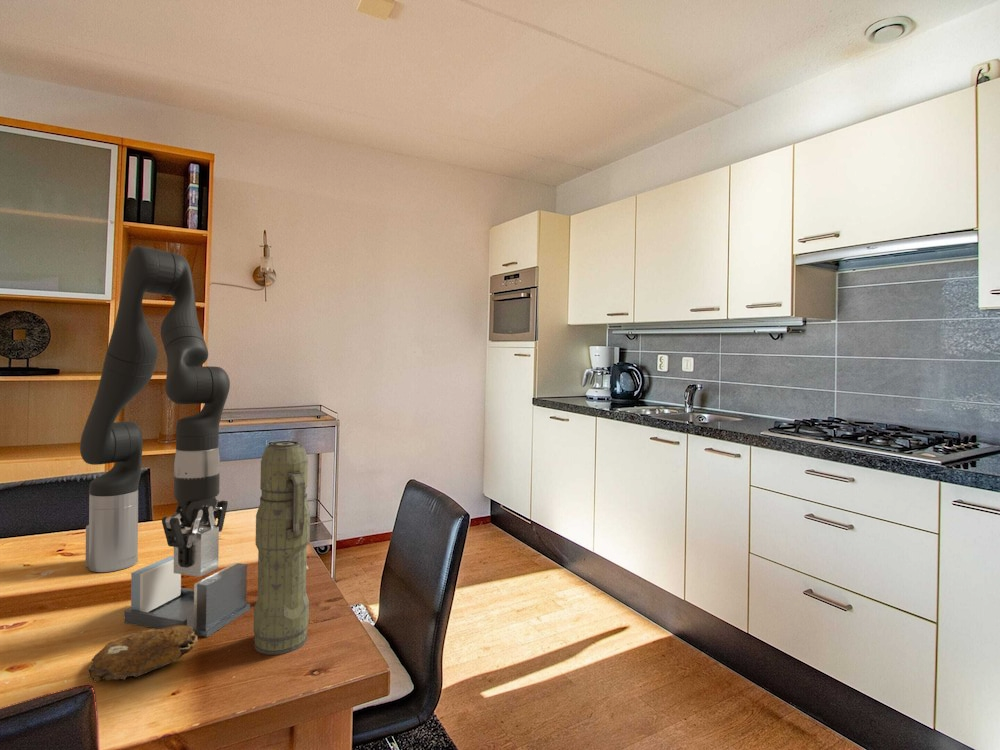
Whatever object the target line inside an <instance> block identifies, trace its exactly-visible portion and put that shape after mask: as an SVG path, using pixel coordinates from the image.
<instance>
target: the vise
mask: <svg viewBox="0 0 1000 750" xmlns="http://www.w3.org/2000/svg"><path fill="white" fill-rule="evenodd" d="M247 575H248V564H247V563H240V562H234V563H232V564H231V565H229V566H226V567H224V568H223V569H221V570H218V571H217V572H215V573H213V574H211V575H209V576H206V577H204V578H202V579H201V580H199V581H197V582H195V583H194V584H193V585H194V586H193V587H194V588H187V587H181V595H180V596H178V597H176V598H174V599H172V600H170V601H168V602H166V603H164V604H163V605H161V606H159V607H157V608H155V609H153V610H151V611H149V612H143V611H137V610H131V608H128V609H125V610H124V613H123V615H124V616H123V618H124V619H123V623H124V624H127V625H129V624H130V625H133V626H134V625H135V626H139V627H145V626H146V627H147V628H151V627H152V628H151V629H156V630H157V629H160V628H164V627H168V626H172V625H180V624H181V625H187V626H188V627H193V631H194V634H195V635H197V636H198V637H202V636H204V637H203V638H208V637H210V636H211V635H213V634H215V633H216V632H217V630H218V631H219V630H221V629H222V628H224V627H225V626H226V625H229V623H231V622H233V621H234V620H236V619H237V618H239V617H240V616H242V615H243V614H245V613H246V612H248V611H249V610H251V603H247V582H248V581H247V579H248V576H247ZM214 632H215V633H214Z"/></svg>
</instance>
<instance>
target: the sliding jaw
mask: <svg viewBox="0 0 1000 750" xmlns="http://www.w3.org/2000/svg"><path fill="white" fill-rule="evenodd" d="M130 581H131V582H130V583H131V584H130V585H131V586H130V587H131V588H130V589H131V591H130V609H131V610H137V611H143V612H149V611H151V610H153V609H155V608H157V607H159V606H161V605H163V604H164V603H166V602H168V601H170V600H172V599H174V598H176V597H178V596H180V595H181V588H182V574H176V573H174V555H173V556H172V555H170V556H167V557H165V558H162V559H161V560H158V561H155V562H154V563H151V564H148V565H146V566H144V567H141V568H140V569H137V570H135V571H132V572H131V578H130Z"/></svg>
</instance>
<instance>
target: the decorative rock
mask: <svg viewBox="0 0 1000 750" xmlns="http://www.w3.org/2000/svg"><path fill="white" fill-rule="evenodd" d="M198 637H199V636H197V635H195V634H194V631H193V627H188V626H187V625H181V624H180V625H172V626H168V627H164V628H160V629H157V628H149V629H147V630H141V631H136V632H135V633H129V634H128V635H125V636H122V637H118V638H116V639H115V640H113V641H111V642H108V643H107V644H105V646H104V647H103V648H101V649H100V650H99V651H98V652H97V653H96V654H95V655H94V656H93V658H92V659H91V661H92V664H91V665H90V666H89V667H88V674H89V675H88V679H89V678H91V679H93V680H94V682H95V681H96V682H100V681H101V680H102V681H103V680H106V681H107V682H109V681H111V679H112V680H118V679H121V680H124V681H126V678H127V677H130V676H131V677H132V676H133V677H134V678H135V679H136V678H137V677H140V676H141V675H144V674H146V673H147V674H148V673H149V672H151V671H153V670H156V669H161V668H164V666H166V665H168V664H169V665H170V663H173V662H175V661H176V660H177V659H178V658H180V656H181V655H182V653H183V654H184V653H185V652H188V651H190V650H192V649H193V648H194V647H195V646H196V643H199V640H198ZM108 680H109V681H108ZM118 681H119V680H118Z"/></svg>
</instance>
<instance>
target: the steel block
mask: <svg viewBox="0 0 1000 750" xmlns="http://www.w3.org/2000/svg"><path fill="white" fill-rule="evenodd" d="M185 529H188V530H190V529H191V528H189V527H185ZM219 533H220V532H219V527H216V526H212V527H208V526H199V527H198V531H197V533H195V534H194V535H193V542H192V546H191V547H192V566H190V567H188V568H185V567H180V565H179V564H178V548H177V547H173V557H174V573H176V574H181V575H185V576H192V577H198V578H199V577H200V578H202V577H204V576H205V575H207V574H209V573H211V572H213V571H215V570H217V569H219V551H220V550H219V549H220V546H219V545H220V544H219V543H220V541H219V539H220V538H219V537H220V536H219V535H220V534H219ZM174 538H175V537H174ZM186 538H187V534H184V540H185V541H186Z"/></svg>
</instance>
